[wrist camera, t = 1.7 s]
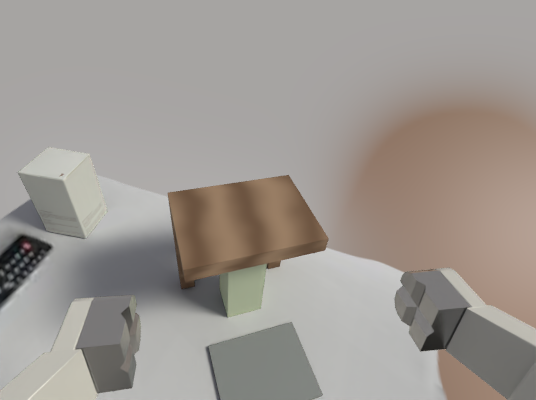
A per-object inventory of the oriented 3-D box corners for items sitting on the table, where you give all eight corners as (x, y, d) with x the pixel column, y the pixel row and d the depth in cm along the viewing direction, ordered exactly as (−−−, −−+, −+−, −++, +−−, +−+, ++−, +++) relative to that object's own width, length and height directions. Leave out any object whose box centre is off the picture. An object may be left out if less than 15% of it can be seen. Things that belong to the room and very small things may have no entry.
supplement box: (109, 210, 63) (91, 153, 54) (86, 240, 57) (62, 180, 49) (71, 203, 63) (48, 145, 55) (45, 231, 58) (15, 171, 49)
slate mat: (227, 431, 38) (227, 430, 38) (208, 347, 45) (208, 346, 45) (322, 395, 42) (322, 394, 42) (291, 323, 49) (291, 322, 49)
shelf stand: (193, 351, 45) (183, 270, 33) (179, 278, 53) (167, 192, 42) (304, 319, 50) (328, 238, 38) (275, 257, 58) (288, 175, 46)
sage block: (227, 317, 49) (228, 270, 42) (219, 288, 52) (219, 240, 45) (260, 308, 50) (267, 261, 43) (250, 281, 54) (255, 233, 47)
